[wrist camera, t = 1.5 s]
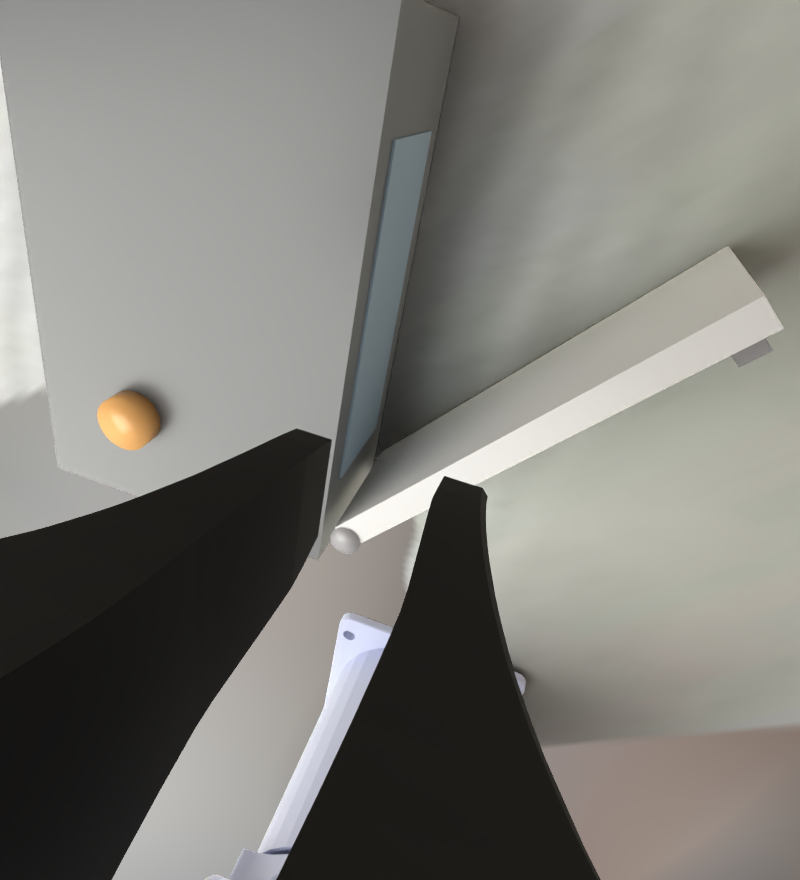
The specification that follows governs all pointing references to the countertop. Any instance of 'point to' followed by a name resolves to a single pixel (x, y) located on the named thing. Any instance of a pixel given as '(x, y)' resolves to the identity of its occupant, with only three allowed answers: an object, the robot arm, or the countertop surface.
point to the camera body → (220, 222)
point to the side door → (570, 391)
